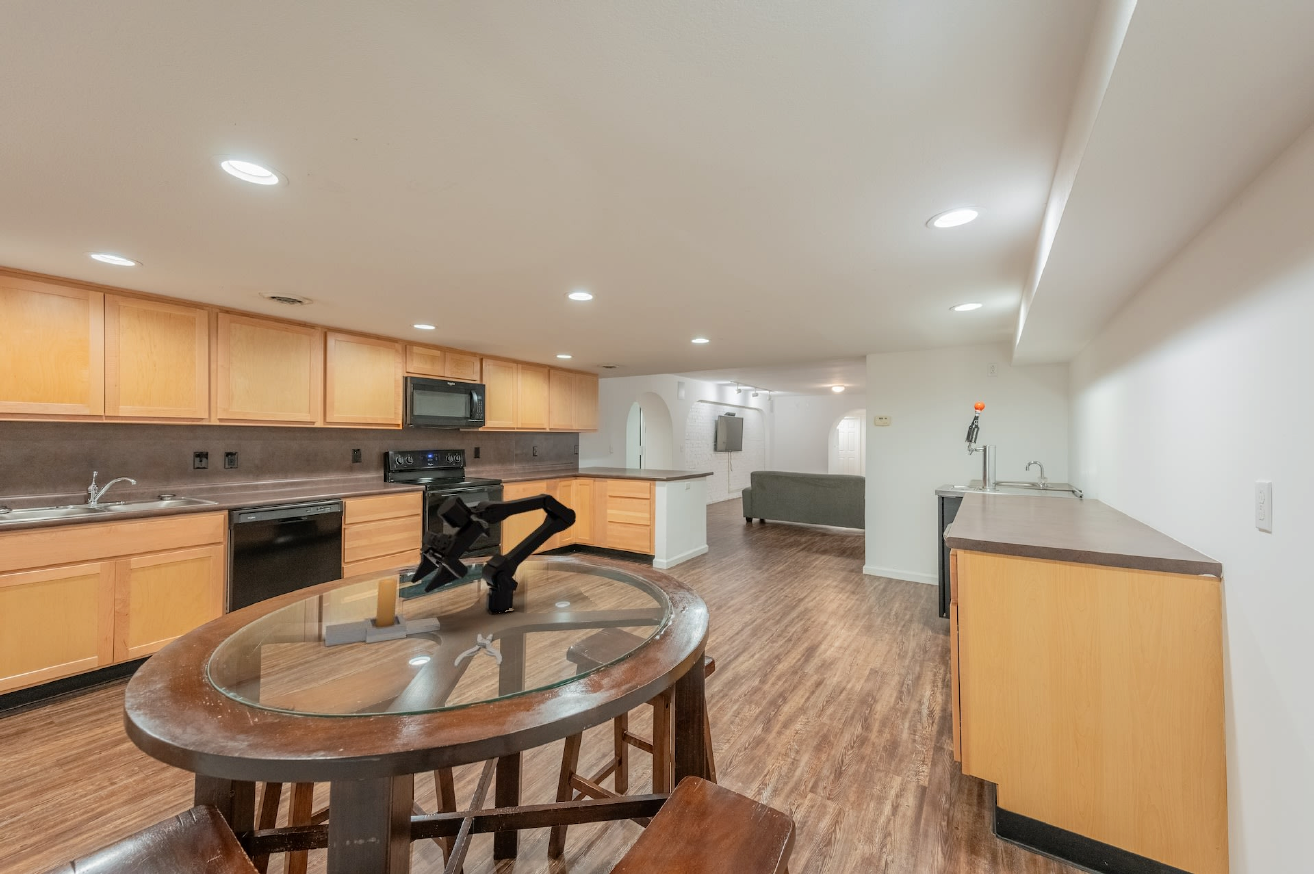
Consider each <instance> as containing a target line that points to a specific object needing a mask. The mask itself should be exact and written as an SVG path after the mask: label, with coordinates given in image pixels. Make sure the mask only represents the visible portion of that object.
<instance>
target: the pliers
mask: <svg viewBox="0 0 1314 874" xmlns="http://www.w3.org/2000/svg"><path fill="white" fill-rule="evenodd" d="M492 640H493V634H492V633H490V634H489V635H488V636H486V638H483V637H482V634H481V633H479V634H477V640H476V645H475V646H474V647H472V648H470V649H468V650H465V651H464V652H462V653H460V654H459V655H458V656H457V657H456V659H455V661H454V668H458V666H459V664H460V663H461V662H462V661H463V659H466V658H469V657H474V656H476V655H478V654H479V653H480V651H478V650H479V649H484V648H485V650H486V651H485V650H484V651H483V654H484V655H486V656H488V657H493V658H495V659H496V663H497V667H498V666H501V664H502V661H503V656H502V654H501V652H500V651H499V650H497V648H496V649H495V648H494V647H493V646H492Z"/></svg>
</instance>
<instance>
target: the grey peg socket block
mask: <svg viewBox="0 0 1314 874" xmlns="http://www.w3.org/2000/svg"><path fill="white" fill-rule="evenodd" d="M376 617H377V616H375V617H368V618H363V620H362V621H353V622H345V623H340V624H339V623H338V624H330V625H325V636H324V637H325V638H324V641H325V642H324V643H325V645H324V646H325V647H331V646H339V645H344V644H345V645H346V644H352V643H359V642H365V643H366V644H370V643H378V642H385V641H390V640H391V641H392V640H397V639H398V640H399V639H403V638H404V639H405V638H407V636H408V635H415V634H420V633H427V632H429V633H430V632H434V631H440V629H441V624H440V622H439V619H438V618H437V617H429V618H422V619H415V620H414V619H413V620H408V621H407V620H405V618H404V615H403V614H402V613H399V614H395V622H394V625H391V626H383V627H376Z"/></svg>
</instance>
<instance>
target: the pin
mask: <svg viewBox="0 0 1314 874" xmlns="http://www.w3.org/2000/svg"><path fill="white" fill-rule="evenodd" d="M377 585H378V586H377V587H378V589H377V601H376V602H377V604H376V605H377V606H376V616H375V617H376V627H383V626H391V625H394V622H395V615H396V607H397V606H396V602H397V588H398V580H397V579H395V578H385V579H380V580H379V581H378V584H377Z"/></svg>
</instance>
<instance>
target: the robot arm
mask: <svg viewBox="0 0 1314 874" xmlns="http://www.w3.org/2000/svg"><path fill="white" fill-rule="evenodd" d="M537 510H543V512H544V513H545V514H546V515H545V517H544V520H543V523H542V524H540V525H539V526H538V527H537V528H535V530H533V531H532V532H531V533H530V534H528V535H527V536H526V537H525V538H524V539H523V540H522V541H520V542H519V543H518V544H517V545H516V546H515V547H513V548H512V549H510V551H508V552H507V553H506V554H501V553H498V552H496V553H495V554H494V555H493V556H492V557H491V558H490V559H489V560H486V561H485V564H484V565H483V566H482V569H481V577H482V580H484V581H485V583H486V586H487V587H488V593H487V594H486V602H485V609H486V610H487V611H489V613H490V614H491V615H496V614H497V613H498V614H500V613H499V612H505V611H506V610H509V608H512V607H513V605H514V592H515V591H517V588H518V586H519V583H518V581H517V580H515V578H513V577H514V576H515V574H516V572H517V569H518V567H519V566H520V565H521V564H522V563H523V562H525V560H526V559H528V558H529V557H530V556H531V555H532V554H534V553H535V552H536V551H537V550H538V549H539V548H540V547H541V546H542V545H544V543H546V542H547V541H548V540H549V539H550V538H552V537H553V536H554V535H556V534H558V533H562V532H564V531H566V530H568V529H569V528H570V527H572V526H573V525H575V523H576V522H577V521H576V519H577V514H576V511H575V510H574V509H573V508H569V507H567V506H566V505H565V504H563V503H561V502H560V501H558V500H557V499H556V498H555V497H554V496H553V495H551V494H548V493H540V494H538V495H537V494H536V495H532V496H527V497H522V498H517V499H511V500H506V501H503V500H482V501H479V502H478V503H477V505H472V506H468V505H467V504H466V503H465V502H464V501H463V499H462V498H461V497H460V496H458V495H455V496H454V497H453V498H451V499H449V500H447V501H445V502H443V503H442V504H441V505H440V506H439V507H438V509H437V511H436V514H437V516H438V517H439V518H440V519H442V520H443V521H444V522H445V523H446V524H447V526H449V527H450V528H451V529H456V528H457V529H456V531H454V533H453V534H451V533H449V534H446V533H443V532H439V533H438V534H437V533H435V532H432V531H429V530H426V531H425V533H424V535H423V537H422V538H421V539H422V540H421V541H420V542H421V543H422V544H424V545H423V546H422V547H421V548H420V549H419V551H420V552H419V555H420V562H419V564H418V567H417V569H416V570H415V573H414V574H413V576H412V577H411V579H410V582H411V583H412V584H416V583H417V582H419V581H421V580H423V579H424V578H425V577H427V576H428V575H430V574H432V573H433V572H435V571H436V570H437V572H436V573H435V575H433V577H432V579H431V580H430V581H429V582H428V584H427V585H426V586H425V587H424V590H423V591H424V592H425V593H427V594H429V593H430V592H433V591H434V590H437V589H438V588H441V587H443V586H445V585H447V584H449V583H451V582H454V581H458V580H459V579H461V580H462V579H464V577H465V576H466V575H468V573H469V568H468V567H467V566H466V564H464V563H463V562H462V561H461V560H460V559H461V558H462V557H463V556H464V555H465V554H470V552H471V551H472V550H471V549H470V548H471V547H472V546H473V545H475V543H476V542H477V540H478V539H480V538H481V537H482V536H484V537H487V539H488V538H491V531H490V530H491V527H489V526H487V525H486V526H485V525H484V524H482V522H483V523H486V524H489V525H495V524H499V523H501V522H502V521H506V520H507V519H508V518H510V517H511V516H514V515H515V516H516V515H519V514H523V513H528V512H533V511H537ZM472 517H473V518H475V519H476V520H474V519H473V518H472ZM513 608H514V607H513ZM498 614H497V615H498Z"/></svg>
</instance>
